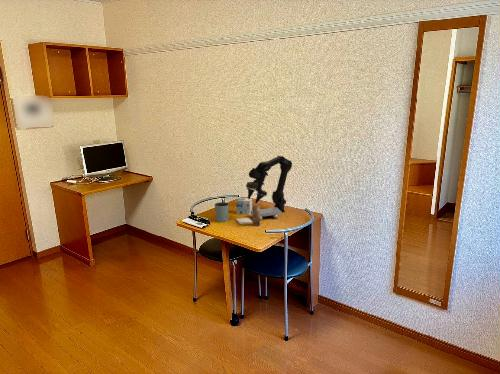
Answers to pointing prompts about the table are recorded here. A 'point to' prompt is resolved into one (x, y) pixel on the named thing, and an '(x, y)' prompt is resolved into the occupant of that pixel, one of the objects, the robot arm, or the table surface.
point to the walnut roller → (256, 215)
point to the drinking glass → (221, 211)
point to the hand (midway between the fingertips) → (252, 200)
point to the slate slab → (269, 212)
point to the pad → (244, 220)
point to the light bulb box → (244, 206)
